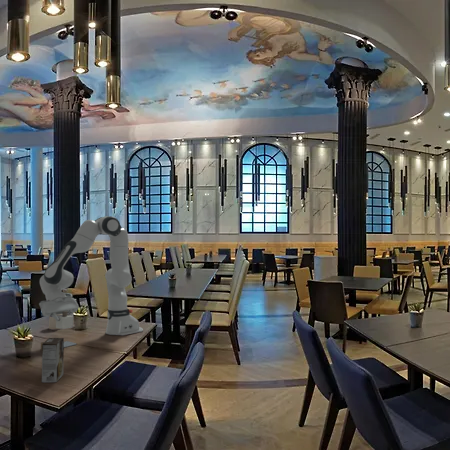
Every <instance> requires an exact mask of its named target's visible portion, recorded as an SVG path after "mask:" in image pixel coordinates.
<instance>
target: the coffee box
mask: <svg viewBox="0 0 450 450" xmlns="http://www.w3.org/2000/svg"><path fill="white" fill-rule="evenodd" d="M64 339H65V338H64V337H48V338H47V339H46V340H45V341H43V342H44V343H43V344H42V351H41V383H57V382H58V381H59V380H60V379H61V378H62V377H63V376H64V364H65V363H64V362H65V361H64V353H65V350H64V342H65V340H64Z"/></svg>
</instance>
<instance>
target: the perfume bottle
mask: <svg viewBox="0 0 450 450" xmlns="http://www.w3.org/2000/svg"><path fill="white" fill-rule="evenodd" d="M73 316H74V315H73ZM73 316H71V315H70V314H69V313H68V311H63V312H62V316H58V317H60V321H56V328H60V329H59V330H65V329H69V328H74V317H73Z"/></svg>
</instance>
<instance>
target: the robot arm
mask: <svg viewBox="0 0 450 450" xmlns="http://www.w3.org/2000/svg"><path fill="white" fill-rule="evenodd" d="M99 235H105V236H108V237H109V240H110V242H109V261H110V265H111V268H109V269H108V270H107V271H106V272H105V275H104V276H105V281H106V282H105V283H106V288H107V294H108V296H107V297H108V308H107V315H106V316H107V324H106V329H105V334H106V335H111V336H126V335H127V336H128V335H130V334H131V335H132V334H136V333H142V332H143V331H144V329H143V327H141V326H140V322H139V320H138V319H137V318H135V317H134V316H133V315H131V314H133V312H134V311H133V309H129V308H128V294H127V291H126V288H127V287H128V286H130V284H131V282H132V281H133V277H132V275H131V270H130V264H129V245H130V244H129V233H128V231H127V229H125V228H123V227H122V226H121V223H120V221H119V219H118V218H116V216H113V215H111V216H108V215H105V216H102V217H99V218H97V219H95V220H92V219H87V220H85V221H84V222H83V223H82V224H81V225H80V226H79V228H78V230H77V231H76V233H75V234H74V236H73V238H71V240H69V241H68V242H67V243H65V245H64V246H63V247H62V249H61V250H60V251H59V253H58V254H57V255H56V257H55V259H54V260H53V262H52V263H51V264H50V265H49V266H48V267H47V268H46V269H45V270H44V273H43V275H42V276H41V277H40V278H39V286H40V288H41V291H42V294H43V295H45V299H46V300H41V301H39V303H38V305H39V307H40V311H41V314H42V316H43V317H45V318H46V317H49V316H52V317H53V318H54V319H56V321H60V317H58V316H57V315H59V314H62V312H63V311H68V315H71V316H73V318H74V313H76V312H77V311H78V310H79V307H80V306H79V304H78V302H77V301H76V299H75V298H74V297H73V294H72V293H68V292H63V290H65V289H68V288H69V287H71V285H73V283H74V279H75V277H74V274H73V273H72V272H70V271H68V270H66V269H64V267H65V266H66V264H67V263H68V261H69V260H70V258H71V257H72V256H74V255H75V254H79V253H80V254H82V253H87V252H88V251H89V250H90V249H91V248H92V246H93V244H94V242H95V240H96V239H97V237H98V236H99Z"/></svg>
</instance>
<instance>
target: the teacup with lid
mask: <svg viewBox="0 0 450 450" xmlns="http://www.w3.org/2000/svg"><path fill="white" fill-rule="evenodd" d="M57 316H62V314H59V315H57ZM48 329H49V330H53V331H54V330H56V331H57V330H61V329H60V328H56V319H54V318H53V317H52V316H48Z"/></svg>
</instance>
